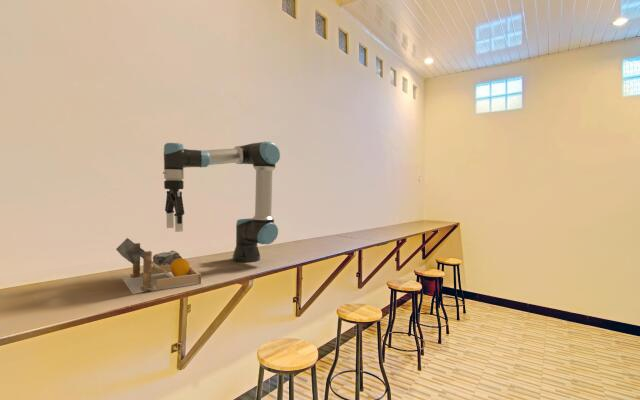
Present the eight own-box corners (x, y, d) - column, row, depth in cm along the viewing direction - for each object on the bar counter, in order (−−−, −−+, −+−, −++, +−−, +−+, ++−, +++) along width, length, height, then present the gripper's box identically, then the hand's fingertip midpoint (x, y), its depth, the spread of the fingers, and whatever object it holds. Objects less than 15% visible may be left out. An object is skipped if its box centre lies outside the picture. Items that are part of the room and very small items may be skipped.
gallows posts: (140, 276, 147) (140, 242, 147) (154, 291, 127) (154, 252, 127) (130, 277, 145) (130, 243, 144) (142, 293, 125) (142, 253, 124)
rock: (152, 273, 152) (157, 251, 153) (144, 269, 157) (148, 248, 158) (184, 273, 164) (188, 252, 165) (175, 269, 170) (179, 250, 171)
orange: (172, 264, 139) (190, 258, 143) (167, 259, 145) (184, 253, 149) (176, 281, 141) (194, 275, 145) (170, 276, 147) (188, 270, 151)
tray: (183, 271, 158) (183, 263, 158) (200, 283, 139) (201, 274, 139) (122, 279, 142) (122, 270, 142) (132, 293, 123) (132, 283, 123)
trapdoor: (159, 280, 149) (169, 269, 151) (170, 291, 134) (181, 278, 136) (115, 248, 138) (126, 237, 140) (122, 256, 123) (135, 243, 126)
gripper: (157, 179, 150) (157, 227, 151) (172, 179, 130) (173, 233, 131) (175, 180, 154) (175, 226, 155) (192, 179, 135) (192, 232, 136)
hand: (174, 229), depth 143 cm, fingers open, 13 cm apart
